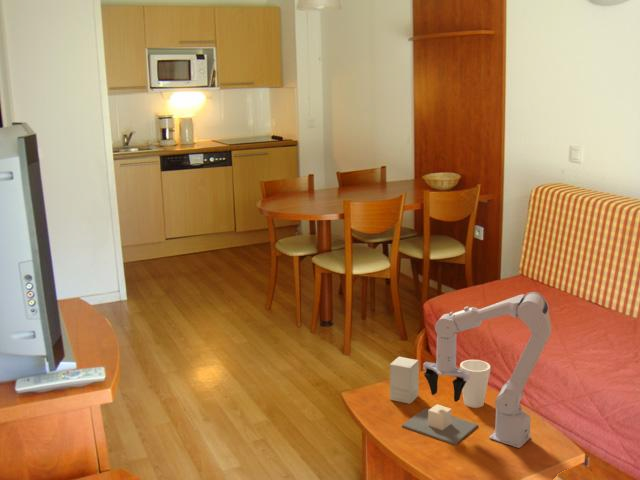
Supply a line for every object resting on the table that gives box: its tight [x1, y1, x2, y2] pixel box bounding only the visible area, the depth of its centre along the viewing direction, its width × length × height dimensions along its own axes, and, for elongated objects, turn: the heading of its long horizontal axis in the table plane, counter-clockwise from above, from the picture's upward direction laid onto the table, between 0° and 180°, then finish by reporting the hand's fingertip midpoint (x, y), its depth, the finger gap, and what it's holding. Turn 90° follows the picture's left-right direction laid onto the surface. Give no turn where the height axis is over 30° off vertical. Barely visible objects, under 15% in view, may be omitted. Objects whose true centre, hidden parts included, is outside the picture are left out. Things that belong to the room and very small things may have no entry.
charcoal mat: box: [401, 407, 479, 446], centre depth 221 cm, size 18×14×1 cm
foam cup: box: [459, 359, 491, 409], centre depth 234 cm, size 10×9×13 cm
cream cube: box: [428, 404, 452, 430], centre depth 220 cm, size 5×5×5 cm
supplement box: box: [389, 356, 420, 405], centre depth 239 cm, size 7×7×13 cm
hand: (445, 396), depth 220 cm, fingers open, 7 cm apart
